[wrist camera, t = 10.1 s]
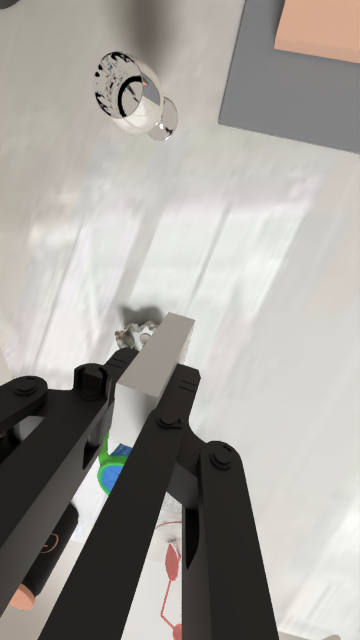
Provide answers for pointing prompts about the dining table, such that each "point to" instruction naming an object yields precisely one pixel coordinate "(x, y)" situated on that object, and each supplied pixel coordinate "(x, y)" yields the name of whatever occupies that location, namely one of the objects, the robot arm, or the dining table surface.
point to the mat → (289, 87)
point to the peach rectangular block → (321, 28)
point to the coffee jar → (45, 561)
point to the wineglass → (133, 97)
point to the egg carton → (129, 341)
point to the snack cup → (111, 464)
